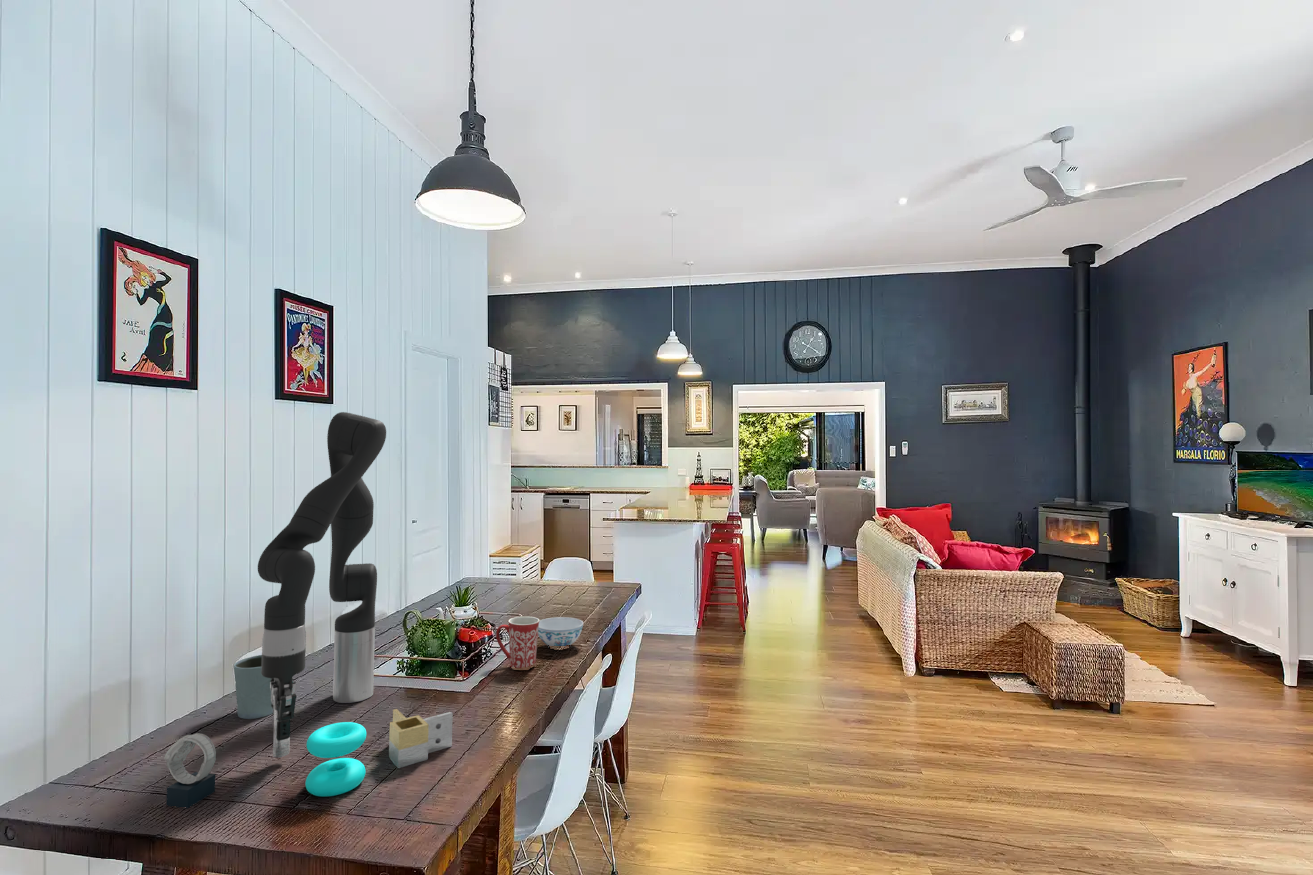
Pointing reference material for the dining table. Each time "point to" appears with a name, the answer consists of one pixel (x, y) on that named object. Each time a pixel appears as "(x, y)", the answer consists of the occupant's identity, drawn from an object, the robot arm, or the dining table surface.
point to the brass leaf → (407, 730)
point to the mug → (520, 641)
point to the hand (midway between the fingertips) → (281, 735)
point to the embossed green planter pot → (252, 689)
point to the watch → (188, 785)
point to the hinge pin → (279, 746)
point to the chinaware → (559, 630)
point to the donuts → (340, 771)
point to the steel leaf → (436, 741)
